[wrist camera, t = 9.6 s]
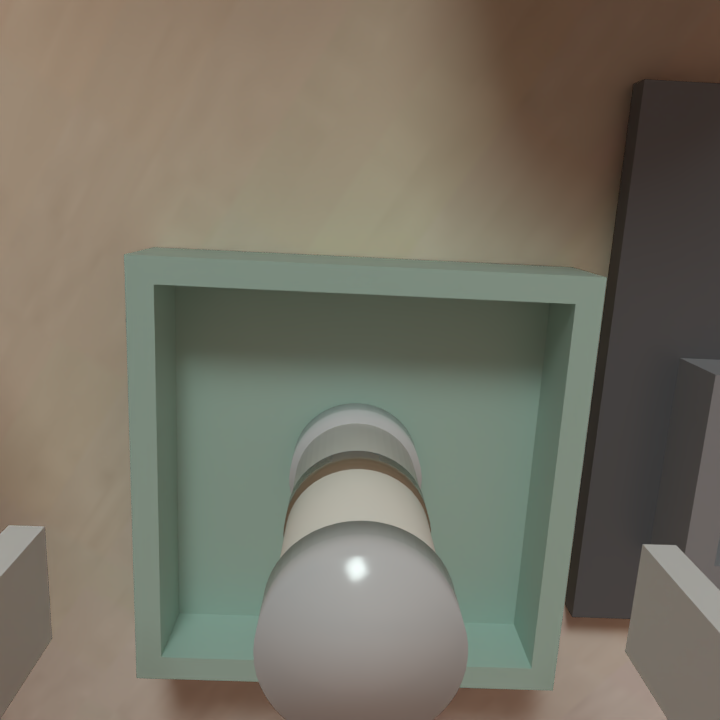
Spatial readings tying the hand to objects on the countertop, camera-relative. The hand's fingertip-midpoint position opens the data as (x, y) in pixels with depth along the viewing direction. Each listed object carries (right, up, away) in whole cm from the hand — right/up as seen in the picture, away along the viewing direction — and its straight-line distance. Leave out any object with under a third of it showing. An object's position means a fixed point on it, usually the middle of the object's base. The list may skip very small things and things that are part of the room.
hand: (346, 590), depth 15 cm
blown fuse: (0, +2, +8) cm, 8 cm away
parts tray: (0, +2, +9) cm, 9 cm away
